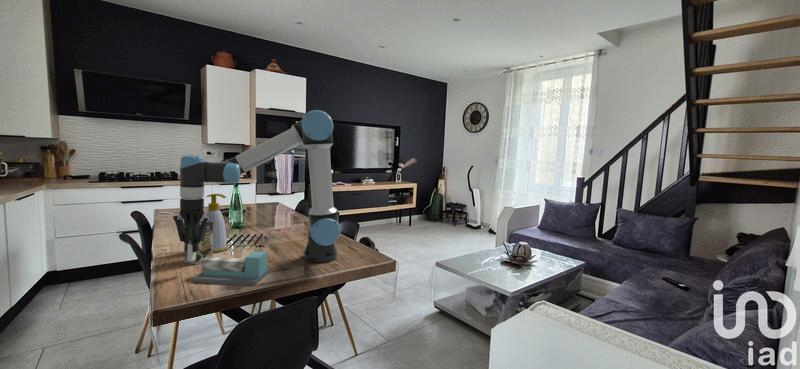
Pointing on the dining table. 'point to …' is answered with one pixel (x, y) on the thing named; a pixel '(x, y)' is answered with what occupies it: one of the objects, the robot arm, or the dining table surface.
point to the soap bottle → (217, 224)
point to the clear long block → (223, 264)
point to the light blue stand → (251, 276)
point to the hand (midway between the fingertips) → (191, 260)
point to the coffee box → (202, 246)
